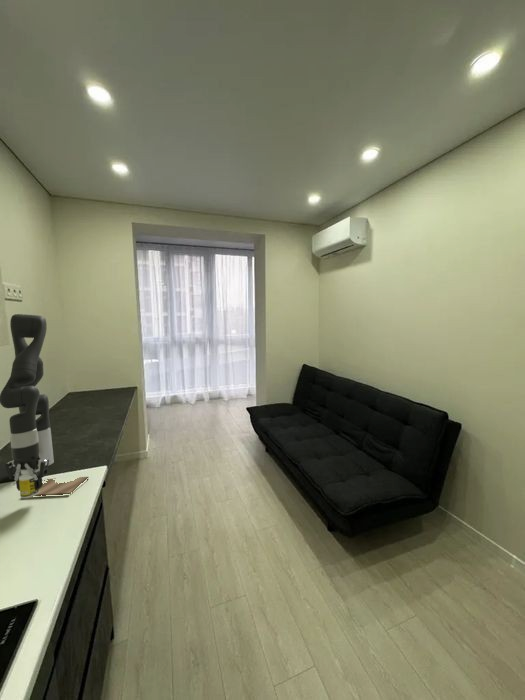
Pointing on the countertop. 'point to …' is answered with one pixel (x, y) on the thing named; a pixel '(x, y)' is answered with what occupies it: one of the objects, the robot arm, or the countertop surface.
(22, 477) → the supplement bottle
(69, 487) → the walnut board
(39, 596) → the countertop surface
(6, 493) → the countertop surface
